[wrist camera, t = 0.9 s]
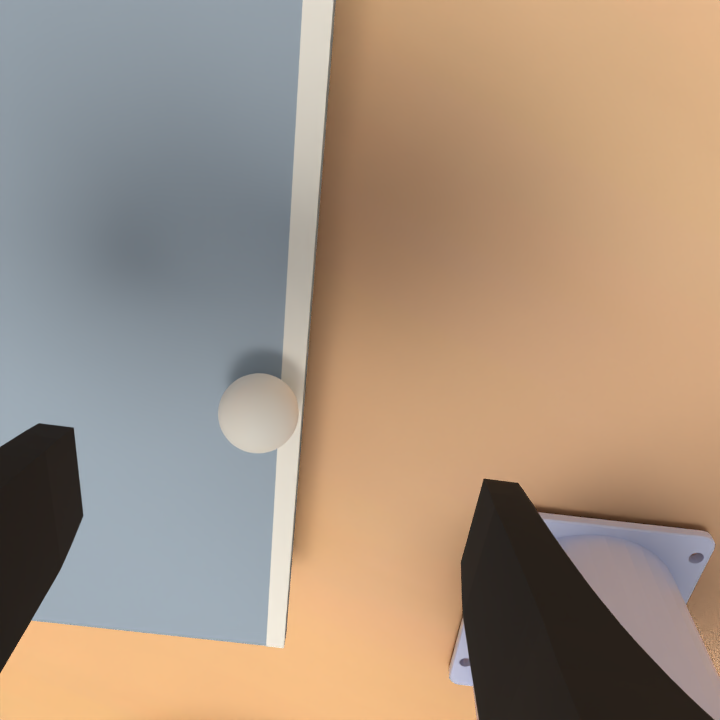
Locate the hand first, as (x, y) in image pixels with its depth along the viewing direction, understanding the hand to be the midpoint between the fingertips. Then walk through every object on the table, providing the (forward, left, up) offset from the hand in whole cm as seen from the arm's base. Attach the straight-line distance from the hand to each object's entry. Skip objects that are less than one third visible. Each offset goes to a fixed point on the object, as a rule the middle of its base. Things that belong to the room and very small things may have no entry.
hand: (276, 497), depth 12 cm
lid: (-2, +7, -6) cm, 10 cm away
